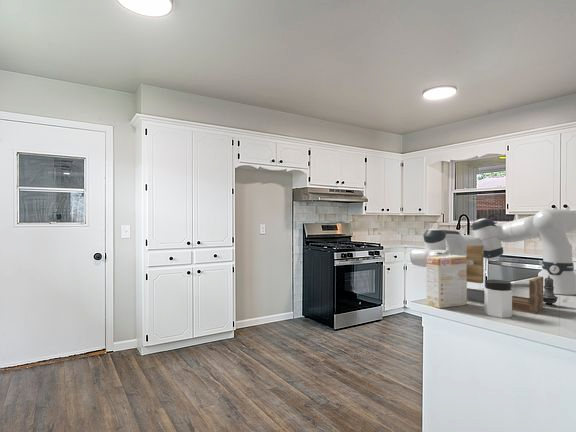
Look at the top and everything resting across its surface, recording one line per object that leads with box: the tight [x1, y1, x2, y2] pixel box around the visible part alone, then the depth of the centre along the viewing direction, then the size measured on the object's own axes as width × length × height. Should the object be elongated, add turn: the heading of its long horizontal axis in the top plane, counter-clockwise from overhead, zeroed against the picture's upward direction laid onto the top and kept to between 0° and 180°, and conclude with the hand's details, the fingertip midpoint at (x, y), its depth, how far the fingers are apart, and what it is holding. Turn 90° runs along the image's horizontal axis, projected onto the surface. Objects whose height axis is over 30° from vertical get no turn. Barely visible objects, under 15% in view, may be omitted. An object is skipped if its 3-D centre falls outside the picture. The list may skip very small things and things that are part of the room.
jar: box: [483, 279, 513, 319], centre depth 131 cm, size 9×8×12 cm
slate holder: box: [467, 287, 484, 303], centre depth 157 cm, size 8×10×4 cm
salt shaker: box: [543, 276, 559, 308], centre depth 145 cm, size 6×6×12 cm
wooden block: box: [467, 245, 484, 284], centre depth 157 cm, size 2×6×16 cm, turn 42°
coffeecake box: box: [425, 255, 468, 309], centre depth 146 cm, size 15×7×20 cm, turn 113°
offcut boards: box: [512, 298, 529, 304], centre depth 141 cm, size 3×10×4 cm, turn 42°
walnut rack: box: [512, 276, 544, 314], centre depth 142 cm, size 13×13×12 cm
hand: (475, 262), depth 156 cm, fingers closed on wooden block, 2 cm apart
